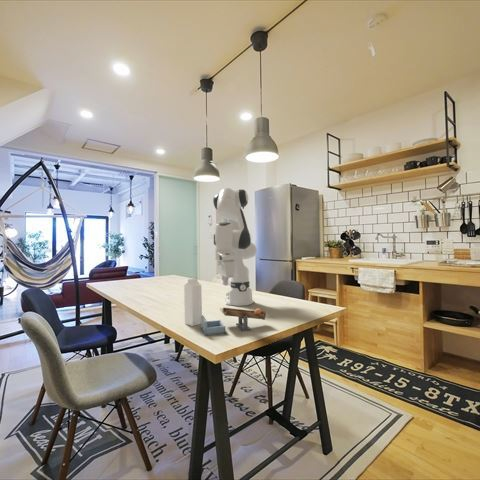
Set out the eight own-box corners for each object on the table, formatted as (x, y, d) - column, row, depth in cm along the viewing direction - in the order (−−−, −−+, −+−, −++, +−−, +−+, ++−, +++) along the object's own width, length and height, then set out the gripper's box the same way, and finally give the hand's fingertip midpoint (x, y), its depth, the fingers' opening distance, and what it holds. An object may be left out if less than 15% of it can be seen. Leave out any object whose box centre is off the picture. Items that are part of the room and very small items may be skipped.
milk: (202, 323, 134) (201, 278, 134) (192, 326, 129) (192, 279, 129) (193, 321, 138) (193, 277, 138) (184, 323, 133) (183, 278, 133)
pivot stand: (243, 323, 132) (243, 310, 132) (250, 330, 122) (250, 315, 122) (235, 324, 131) (235, 310, 131) (242, 331, 121) (241, 316, 121)
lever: (255, 315, 138) (257, 306, 138) (264, 322, 126) (266, 312, 126) (219, 311, 132) (220, 302, 132) (225, 318, 121) (227, 308, 121)
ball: (252, 314, 130) (253, 307, 130) (259, 315, 131) (260, 307, 131) (255, 316, 126) (256, 309, 126) (262, 317, 127) (263, 309, 127)
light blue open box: (201, 328, 126) (201, 315, 126) (220, 326, 128) (220, 313, 128) (204, 335, 116) (204, 321, 116) (225, 333, 119) (225, 319, 119)
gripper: (213, 255, 139) (214, 282, 139) (223, 257, 120) (223, 288, 120) (225, 255, 141) (226, 281, 141) (236, 256, 122) (237, 287, 121)
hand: (225, 285), depth 130 cm, fingers closed
